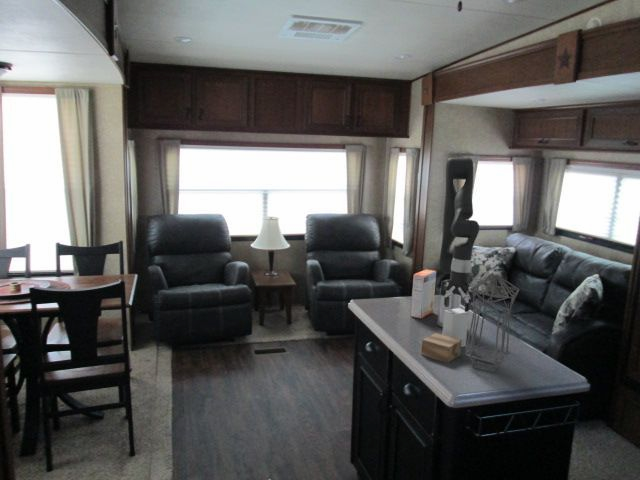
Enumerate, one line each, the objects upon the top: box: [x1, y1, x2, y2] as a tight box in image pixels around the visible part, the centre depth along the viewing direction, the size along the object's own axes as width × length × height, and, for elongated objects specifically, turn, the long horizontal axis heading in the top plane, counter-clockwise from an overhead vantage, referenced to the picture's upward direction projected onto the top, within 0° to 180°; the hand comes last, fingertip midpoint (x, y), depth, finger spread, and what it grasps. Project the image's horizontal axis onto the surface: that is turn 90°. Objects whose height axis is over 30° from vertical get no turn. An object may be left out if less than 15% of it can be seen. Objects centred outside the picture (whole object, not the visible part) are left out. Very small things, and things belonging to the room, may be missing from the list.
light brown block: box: [420, 332, 462, 364], centre depth 203 cm, size 11×11×6 cm
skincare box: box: [441, 307, 470, 348], centre depth 213 cm, size 8×6×15 cm
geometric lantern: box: [464, 273, 520, 372], centre depth 192 cm, size 16×16×35 cm
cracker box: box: [410, 268, 437, 320], centre depth 250 cm, size 14×6×21 cm, turn 144°
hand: (456, 308), depth 211 cm, fingers open, 8 cm apart
